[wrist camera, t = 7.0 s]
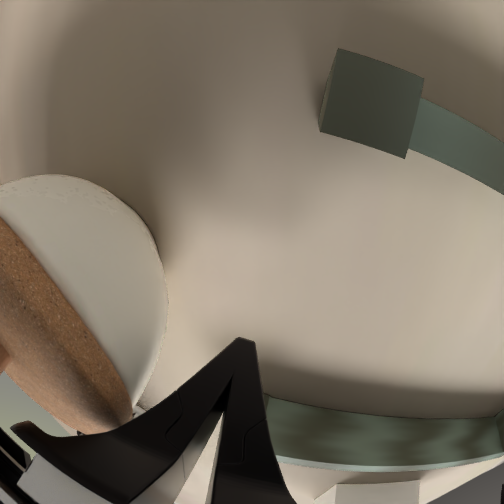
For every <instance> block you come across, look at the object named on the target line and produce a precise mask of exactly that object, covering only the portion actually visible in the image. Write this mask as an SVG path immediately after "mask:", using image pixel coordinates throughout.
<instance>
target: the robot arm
mask: <svg viewBox="0 0 504 504" xmlns="http://www.w3.org/2000/svg"><path fill="white" fill-rule="evenodd" d="M223 411H224V412H223ZM222 413H223V417H222V422H221V427H220V432H219V438H218V443H217V448H216V453H215V458H214V463H213V468H212V473H211V478H210V483H209V488H208V493H207V498H206V503H205V504H297V503H296V502H295V500H294V499H293V498H292V496H291V495H290V493H289V491H288V489H287V487H286V484H285V482H284V479H283V476H282V473H281V470H280V467H279V464H278V461H277V458H276V455H275V452H274V449H273V445H272V442H271V437H270V432H269V427H268V420H267V415H266V409H265V402H264V396H263V390H262V383H261V377H260V370H259V364H258V357H257V351H256V344H255V342H254V341H251V340H248V339H244V338H241V337H238V338H236V339H235V340H234V341H233V342H232V343H230V344H229V345H228V346H227V347H226V348H225V349H224V350H223V351H221V352H220V353H219V354H218V355H217V356H216V357H215V358H213V359H212V360H211V361H210V362H209V363H208V364H206V365H205V366H204V367H203V368H202V369H201V370H199V371H198V372H197V373H196V374H195V375H194V376H192V377H191V378H190V379H189V380H188V381H186V382H185V383H184V384H183V385H182V386H180V387H179V388H178V389H177V390H176V391H174V392H173V393H172V394H171V395H169V396H168V397H167V398H165V399H164V400H163V401H161V402H160V403H159V404H157V405H156V406H154V407H153V408H151V409H149V410H148V411H146V412H144V413H143V414H141V415H139V416H137V417H136V418H134V419H132V420H130V421H129V422H127V423H125V424H123V425H121V426H120V427H118V428H115V429H113V430H110V431H107V432H102V433H96V434H88V435H79V436H69V437H55V436H51V435H49V434H47V433H45V432H43V431H42V430H41V429H40V428H38V427H37V426H36V425H35V424H34V423H32V422H31V421H24V422H20V423H17V424H15V425H13V426H11V427H10V429H11V430H12V431H13V432H14V433H15V434H16V435H17V436H18V437H19V438H20V439H21V440H23V441H24V442H25V443H26V444H27V445H28V446H29V447H31V448H32V449H33V450H34V451H35V452H36V455H35V456H34V458H33V460H32V461H31V458H30V455H29V454H28V453H27V452H26V451H25V450H24V449H23V448H21V447H20V446H19V445H18V444H17V443H16V442H15V441H14V440H13V439H12V438H11V437H10V436H9V435H8V434H7V433H6V432H5V431H4V430H3V429H2V428H1V427H0V504H173V503H174V501H175V500H176V498H177V496H178V494H179V493H180V491H181V489H182V487H183V486H184V484H185V482H186V480H187V479H188V477H189V475H190V473H191V471H192V470H193V468H194V466H195V464H196V462H197V461H198V459H199V457H200V455H201V453H202V451H203V449H204V448H205V446H206V444H207V442H208V440H209V438H210V436H211V434H212V433H213V431H214V429H215V427H216V425H217V423H218V421H219V419H220V417H221V415H222ZM501 504H504V484H502V491H501Z"/></svg>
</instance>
